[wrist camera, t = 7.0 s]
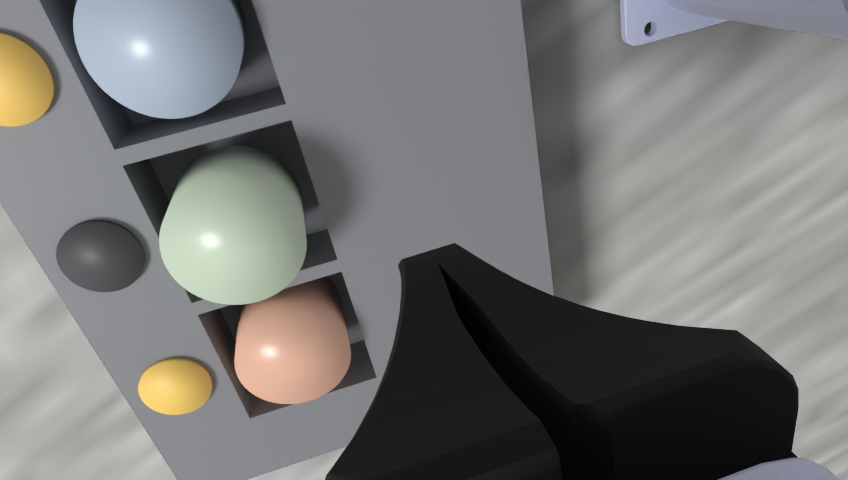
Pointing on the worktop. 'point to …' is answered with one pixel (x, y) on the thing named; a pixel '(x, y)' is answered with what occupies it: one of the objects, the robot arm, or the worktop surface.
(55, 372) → the worktop surface
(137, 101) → the button slate
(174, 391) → the console
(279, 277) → the button sage
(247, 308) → the button terracotta
